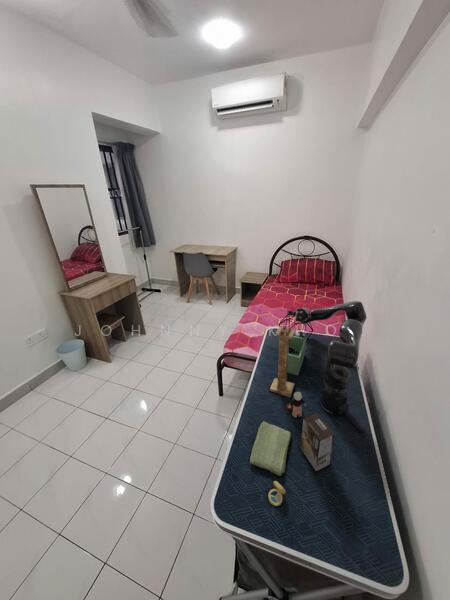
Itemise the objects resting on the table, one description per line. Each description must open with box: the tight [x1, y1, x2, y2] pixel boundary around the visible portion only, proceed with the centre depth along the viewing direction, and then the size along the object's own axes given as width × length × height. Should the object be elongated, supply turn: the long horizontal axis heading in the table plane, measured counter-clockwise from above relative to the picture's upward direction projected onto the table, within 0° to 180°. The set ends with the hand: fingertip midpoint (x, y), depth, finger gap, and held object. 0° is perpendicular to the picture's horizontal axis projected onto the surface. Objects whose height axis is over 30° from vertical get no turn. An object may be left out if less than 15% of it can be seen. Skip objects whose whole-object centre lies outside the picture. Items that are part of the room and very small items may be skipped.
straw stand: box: [269, 324, 296, 398], centre depth 110 cm, size 10×8×35 cm
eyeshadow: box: [267, 480, 287, 507], centre depth 76 cm, size 4×5×5 cm
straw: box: [290, 313, 297, 326], centre depth 120 cm, size 1×13×1 cm, turn 152°
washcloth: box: [249, 421, 292, 477], centre depth 90 cm, size 13×18×3 cm
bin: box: [287, 335, 307, 376], centre depth 131 cm, size 11×18×12 cm, turn 153°
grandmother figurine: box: [288, 391, 307, 418], centre depth 101 cm, size 8×4×13 cm, turn 109°
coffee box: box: [300, 412, 336, 472], centre depth 84 cm, size 9×6×16 cm
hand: (296, 313), depth 121 cm, fingers closed on straw, 1 cm apart
